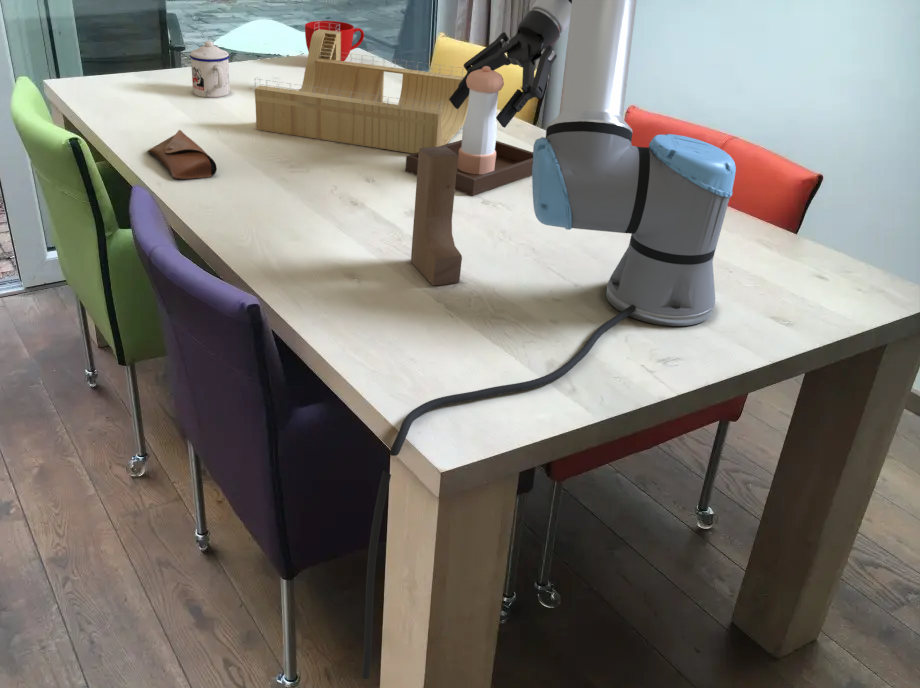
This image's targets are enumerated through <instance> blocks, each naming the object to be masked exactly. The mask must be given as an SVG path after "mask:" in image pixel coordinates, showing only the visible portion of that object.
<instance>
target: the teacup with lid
mask: <svg viewBox="0 0 920 688" xmlns="http://www.w3.org/2000/svg"><path fill="white" fill-rule="evenodd" d="M228 52H229V51H226V50H224V49H221V48H220V47H218V46H216V45H214V42H213V41H212V40H206V41H204V45H202V46H200V47H198V48H197V49H194V50H192V51H191V52H190V53H189V58H190V63H191V64H190V67H191V82H192V92H193V94H194V95H195V96H198V97H201V98H209V99H210V98H212V99H213V98H221V97H226V96H228V95H229V94H230V91H231V90H230V87H231V85H230V64H229V63H230V62H229V58H230V54H229V53H228Z"/></svg>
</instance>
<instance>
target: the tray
mask: <svg viewBox="0 0 920 688" xmlns="http://www.w3.org/2000/svg"><path fill="white" fill-rule="evenodd" d="M461 145H462V139H460V140H457V141H454V142H453V141H452V142H448V143H447V144H446V145H442V146H446V147H448V148H449V149H450V150H452V151H453V152H454V153H455V154H457V156H459V149H460V148H461ZM439 147H441V146H439ZM495 151H496V160H495V168H494V171H491V172H488V173H485V174H471V173H466V172H463V171H461V170H459V169H458V168H457V172H456V182H455V191H457V192H460V193H463V194H465V195H469V196H470V197H474V196H476V195H477V196H478V195H479V194H483V193H485V192H489V191H491V190H495V189H498V188H500V187H504V186H505V185H508V184H511V183H514V182H517V181H520V180H523V179H525V178H529V177H532V165H533V151H530V150H527V149H524V148H520V147H519V146H515V145H511V144H508V143H506V142H502V141H498V140H496V144H495ZM418 155H419V152H418V153H409V154H408V155H406V157H405V169H404V171H405V172H406V173H409V174H411V175H414V176H417V169H418ZM457 166H458V162H457Z"/></svg>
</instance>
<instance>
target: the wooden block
mask: <svg viewBox="0 0 920 688" xmlns="http://www.w3.org/2000/svg"><path fill="white" fill-rule="evenodd" d="M457 162H458V156H457V154H455V153H454V152H453V151H452V150H450V149H449V148H448V147H446V146H441V147H426V148H420V149H419V155H418V169H417V175H416V184H415V185H416V186H415V198H414V213H413V225H412V226H413V227H412V238H411V252H410V253H411V255H410V263H412V265H413V266H414V267H415V268H416V269H417V270H418V271H419V272H420V273H421V275H422V276H423V277H424V278H425V279H426V280H427V281H428V282H429V283H430V284H431V286H443V285H450V284H458V283H460V281H461V280H460V279H461V271H462V262H463V256H462V254H461V252H460V251H459V249H458V248H457V247H456V244H455V241H454V236H453V213H454V202H455V192H456V190H455V182H456V172H457Z"/></svg>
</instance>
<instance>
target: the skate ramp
mask: <svg viewBox="0 0 920 688" xmlns="http://www.w3.org/2000/svg"><path fill="white" fill-rule="evenodd" d="M317 23H318V22H317ZM324 23H326V22H324ZM333 24H335V23H333ZM337 26H338V25H337ZM314 27H315V24H314ZM318 27H319V26H318ZM321 27H323V26H321ZM316 28H317V27H316ZM330 28H332V27H330ZM338 30H339V32H338V31H337V30H336V31H330V30H321V29H318V30H317V31H315V32H314V33H313V35H312V38H311V43H310V48H309V52H308V54H307V60H306V64H305V70H304V75H303V78H302V79H303V80H302V84H301V87H300V88H296V89H293V87H290V88H286V87H278V85H275V86H271V85H269V84H267V85H264V83H263V84H262V83H260V81H261V80H262V79H261V78H258V80H259V81H257V77H256V78H254V79H253V80H254V102H255V103H254V104H255V125H256V128H255V129H256V130H257V131H258V130H259V131H265V132H270V133H277V134H284V135H291V136H298V137H304V138H310V139H316V140H324V141H331V142H335V143H337V142H338V143H343V144H350V145H355V146H356V145H357V146H361V147H362V146H364V147H369V148H374V149H375V148H376V149H381V150H382V149H383V150H389V151H395V152H401V153H408V154H414V153H418V152H419V149H420V148H426V147H439V146H442V145H446V144H449V143H450V141H451V140H452V139H453V138H454V137H455V135H456V134H457V133H458V132H459V131H460V130H461V129H462V128H463V127H464V123H465V119H466V115H467V111H468V101H469V95H468V97H467V98H466V99H465V101H464V102H463V103H462V105H461V106H460V107H459V109H456V108H455V107H454V106H453V104H452V103H451V102H450V100H449V99H450V97H451V96H452V95H453V93H454V92H455V91H456V89H457V88H458V85H459V83H460V82H461V81H462V79H463V78H464V77H465V76H464V75H454V74H452V73H453V72H456V73H457V71H450V74H447V73H441V71H442V69H441V68H442V66H444V67H446V65H444V64H439V68H438V70H439V71H438V72H432V71H422V70H418V68H419V65H416V66H414V67H415V68H416V70H415V69H409V68H408V69H407V67H410V65H409V64H408V63H407V62H408V60H405V59H402V61H404V62H405V67H404V68H401V67H396V65H397V63H396V60H397V61H398V59H396V58H394V63H393V62H391V64H393V65H394V66H385V63H386V64H387V62H385V59H389V60H390V58H389V57H387V58H386V57H383V62H382V64H383V65H376V64H374V62H376V63H379V61H377V60H376V61H375V59H374V58H375V56H373V55H372V56H371V58H372V60H369V59H367V61H369V62H372V63H371V64H369V63H363V61H364V59H363V57H364V56H365V57H367V55H364V54H360V56H361V59H360V58H359V60H360V62H354V61H352V60H350V61H346V60H345V61H341V53H342V52H341V32H340V24H339V28H338ZM348 54H349V55H350V57H352V55H353V53H351V52H350V53H348ZM355 55H357V56H359V54H358V53H355ZM345 58H346V59H348V57H345ZM378 58H380V59H382V57H381V56H378ZM352 59H353V60H356V58H354V57H352ZM410 62H411V63H414V61H413V60H410ZM419 63H420V64H422V62H420V61H418V64H419ZM407 64H408V65H407ZM426 64H427V65H430V63H427V62H426ZM399 65H401V66H402V64H400V63H399ZM434 65H436V66H438V64H437V63H434ZM449 67H450V68H454V66H451V65H449ZM422 68H424V69H426V67H425V66H424V67H423V66H422ZM457 68H460V69H462V66H461V67H459V66H457ZM430 69H431V70H432V69H433V70H434V68H433V67H432V68H431V67H430ZM445 71H447V72H449V70H448V69H445ZM385 72H386V73H393V74H400V75H402V79H401V90H400V94H399V95H400V96H399V97H396V99H397V100H398V102H396V103H393V102H390V98H391V99H393V97H390V96H389V99H387V101H384V98H386V96H385V95H384V88H385V87H384V86H385V85H384V84H385V83H384V82H385ZM461 73H462V74H464V73H465V71H464V69H462V71H461ZM256 81H257V82H256ZM268 81H269V82H270V80H267V79H266V82H268ZM258 82H259V83H260V84H259V85H258V86H257V83H258ZM273 82H274V83H277V81H276V80H273ZM280 83H282V84H283V83H284V82H283V81H282V82H281V81H280ZM287 84H289V85H291V83H288V82H287ZM296 85H297V86H299V84H295V86H296Z"/></svg>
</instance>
